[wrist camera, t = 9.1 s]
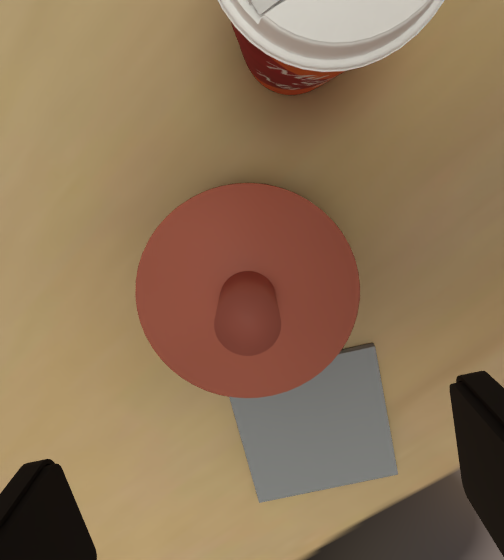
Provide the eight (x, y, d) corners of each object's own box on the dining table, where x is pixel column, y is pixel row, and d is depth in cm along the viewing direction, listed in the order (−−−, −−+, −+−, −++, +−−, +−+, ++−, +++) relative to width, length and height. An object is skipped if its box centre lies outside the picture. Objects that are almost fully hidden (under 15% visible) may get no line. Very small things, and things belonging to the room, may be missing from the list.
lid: (334, 157, 22) (356, 157, 18) (372, 366, 25) (400, 412, 21) (110, 213, 23) (74, 226, 18) (174, 409, 26) (157, 463, 21)
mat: (372, 342, 31) (374, 346, 31) (395, 469, 34) (398, 474, 34) (224, 375, 32) (224, 379, 31) (259, 497, 35) (259, 502, 34)
